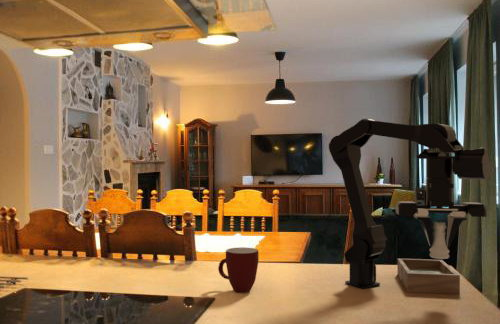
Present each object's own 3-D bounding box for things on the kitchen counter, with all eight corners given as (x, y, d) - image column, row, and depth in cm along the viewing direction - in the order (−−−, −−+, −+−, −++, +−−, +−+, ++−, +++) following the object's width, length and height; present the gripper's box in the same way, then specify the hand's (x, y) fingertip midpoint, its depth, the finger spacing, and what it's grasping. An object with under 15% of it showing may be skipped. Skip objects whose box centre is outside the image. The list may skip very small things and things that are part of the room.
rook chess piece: (453, 259, 106) (453, 223, 106) (433, 259, 106) (433, 223, 106) (445, 255, 110) (445, 221, 110) (426, 255, 110) (426, 221, 110)
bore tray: (459, 294, 113) (459, 275, 113) (407, 291, 115) (407, 273, 115) (442, 276, 130) (442, 259, 130) (397, 274, 132) (397, 258, 132)
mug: (211, 292, 114) (211, 251, 114) (223, 284, 121) (223, 246, 121) (252, 296, 110) (252, 254, 110) (262, 288, 118) (262, 248, 118)
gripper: (472, 177, 114) (472, 241, 114) (392, 177, 117) (392, 239, 117) (487, 179, 103) (487, 250, 103) (399, 178, 106) (399, 247, 106)
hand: (439, 246), depth 108 cm, fingers closed on rook chess piece, 3 cm apart
